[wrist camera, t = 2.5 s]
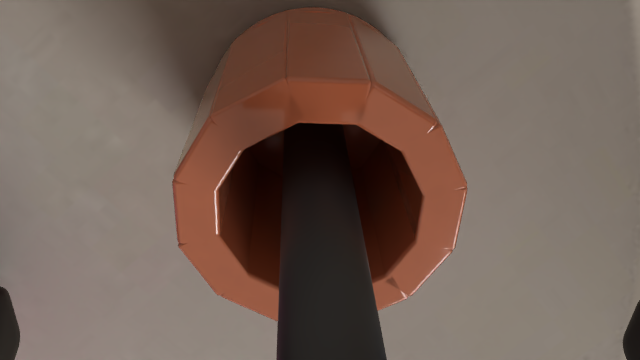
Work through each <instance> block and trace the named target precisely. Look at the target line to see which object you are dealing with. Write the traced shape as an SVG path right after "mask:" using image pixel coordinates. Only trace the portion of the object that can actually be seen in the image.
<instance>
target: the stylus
mask: <svg viewBox="0 0 640 360" xmlns="http://www.w3.org/2000/svg"><path fill="white" fill-rule="evenodd" d="M277 360H387V359H386V354H385V348H384V343H383V338H382V332H381V327H380V322H379V316H378V311H377V306H376V300H375V295H374V290H373V284H372V279H371V274H370V268H369V263H368V258H367V252H366V247H365V242H364V236H363V231H362V226H361V220H360V215H359V210H358V204H357V199H356V194H355V188H354V183H353V178H352V172H351V167H350V162H349V156H348V151H347V146H346V140H345V135H344V130H343V124H319V123H297V124H295V125H293V126H291V127H289V128H287V129H285V130H284V151H283V181H282V212H281V242H280V273H279V303H278V333H277Z"/></svg>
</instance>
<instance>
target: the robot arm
mask: <svg viewBox="0 0 640 360" xmlns="http://www.w3.org/2000/svg"><path fill="white" fill-rule="evenodd" d="M19 342H20V331H19V326H18V323H17V319H16V316H15V312H14V309H13V306H12V302H11V299H10V295H9V293H8V291H7V290H6V289H5V288H3V287H0V360H14V359H15V356H16V353H17V350H18V347H19ZM623 349H624V353H625V356H626V359H627V360H640V300H639V302H638V304H637V306H636V308H635V311H634V313H633V315H632V317H631V320H630V322H629V324H628V327H627V329H626V331H625V334H624V337H623Z"/></svg>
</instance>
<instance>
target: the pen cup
mask: <svg viewBox="0 0 640 360" xmlns="http://www.w3.org/2000/svg"><path fill="white" fill-rule="evenodd" d="M297 123H319V124H343V130H344V135H345V140H346V146H347V151H348V156H349V162H350V167H351V172H352V178H353V183H354V188H355V194H356V199H357V204H358V210H359V215H360V220H361V226H362V231H363V236H364V242H365V247H366V252H367V258H368V263H369V268H370V274H371V279H372V284H373V290H374V295H375V300H376V306H377V311H378V310H381V309H383V308H386V307H388V306H391V305H393V304H396V303H398V302H401V301H403V300H406V299H407V298H408V296H412V295H413V294H414V293H415V292H416V291H417V290H418V288H419V287H420V286H421V285H422V284H423V283H424V282H425V281H426V280H427V279H428V278H429V277H430V275H431V274H432V273H433V272H434V271H435V270H436V269H437V268H438V267H439V266H440V265H441V264H442V263H443V261H444V260H445V259H446V258H447V257H448V256H449V255H450V254H451V253H452V250H453V249H454V248H455V246H456V241H457V236H458V232H459V227H460V222H461V217H462V213H463V208H464V203H465V199H466V194H467V182H466V179H465V177H464V175H463V173H462V170H461V168H460V166H459V163H458V161H457V159H456V157H455V154H454V152H453V150H452V147H451V145H450V143H449V141H448V138H447V136H446V134H445V131H444V129H443V127H442V125H441V123H440V121H439V119H438V118H437V116H436V114H435V112H434V110H433V109H432V107H431V105H430V103H429V102H428V100H427V98H426V96H425V94H424V93H423V91H422V89H421V87H420V86H419V84H418V82H417V80H416V78H415V77H414V75H413V73H412V71H411V69H410V68H409V66H408V64H407V62H406V61H405V59H404V57H403V55H402V53H401V52H400V50H399V49H398V48H397V47H396V46H395V44H393V43H392V42H390V41H389V40H388V39H387V38H386V37H385V36H384V35H383V34H382V33H381V32H380V31H379V30H377V29H376V28H375V27H373V26H372V25H371V24H369V23H367V22H365V21H364V20H362V19H360V18H358V17H356V16H353V15H351V14H348V13H346V12H342V11H338V10H334V9H328V8H319V7H311V8H298V9H291V10H286V11H283V12H280V13H276V14H274V15H271V16H269V17H267V18H265V19H263V20H261V21H259V22H257V23H256V24H254V25H253V26H251V27H249V28H248V29H247V30H246V31H245V32H243V33H242V34H241V35H240V36H239V37H238V38H236V39H235V41H234V42H233V43H232V44H231V46H230V47H229V48H228V50H227V51H226V53H225V54H224V56H223V57H222V59H221V61H220V63H219V65H218V67H217V69H216V72H215V73H214V75H213V77H212V79H211V80H210V82H209V84H208V86H207V88H206V91H205V93H204V96H203V99H202V101H201V104H200V106H199V109H198V112H197V114H196V117H195V120H194V122H193V125H192V128H191V130H190V133H189V135H188V138H187V141H186V143H185V146H184V149H183V151H182V154H181V156H180V159H179V162H178V164H177V167H176V170H175V172H174V179H173V181H172V186H173V198H174V209H175V220H176V231H177V240H178V242H179V244H178V246H179V248H180V249H181V250H182V252H183V253H184V254H185V255H186V257H187V258H188V259H189V260H190V262H191V263H192V264H193V265H194V267H195V268H196V269H197V270H198V272H199V273H200V274H201V275H202V277H203V278H204V279H205V280H206V282H207V283H208V284H209V285H210V287H211V288H212V289H213V290H214V292H215V293H216V294H217V295H220V296H222V297H223V298H225V299H228V300H230V301H232V302H234V303H237V304H239V305H241V306H243V307H246V308H248V309H250V310H252V311H255V312H257V313H259V314H262V315H264V316H266V317H268V318H271V319H273V320H275V321H278V303H279V273H280V242H281V212H282V181H283V151H284V130H285V129H287V128H289V127H291V126H293V125H295V124H297Z"/></svg>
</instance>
